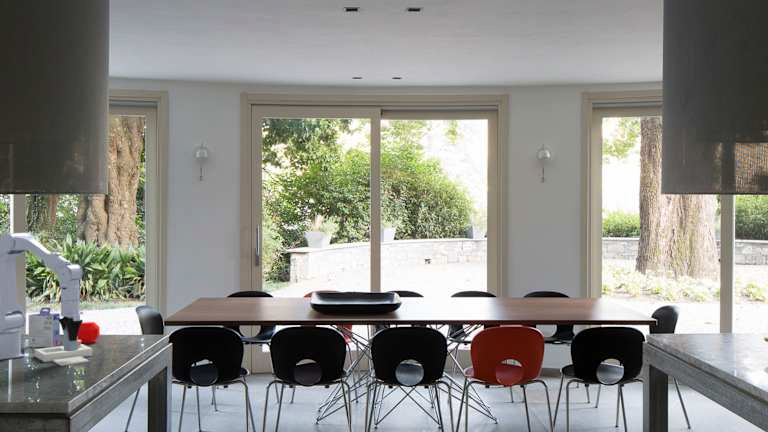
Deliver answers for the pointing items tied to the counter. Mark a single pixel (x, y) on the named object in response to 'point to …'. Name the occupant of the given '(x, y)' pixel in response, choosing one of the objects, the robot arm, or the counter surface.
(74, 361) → the stone coaster
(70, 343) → the capped blue cylinder
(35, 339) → the ink cartridge box
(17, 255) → the robot arm
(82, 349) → the white panel with holes
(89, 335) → the ball
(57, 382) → the counter surface
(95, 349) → the counter surface
